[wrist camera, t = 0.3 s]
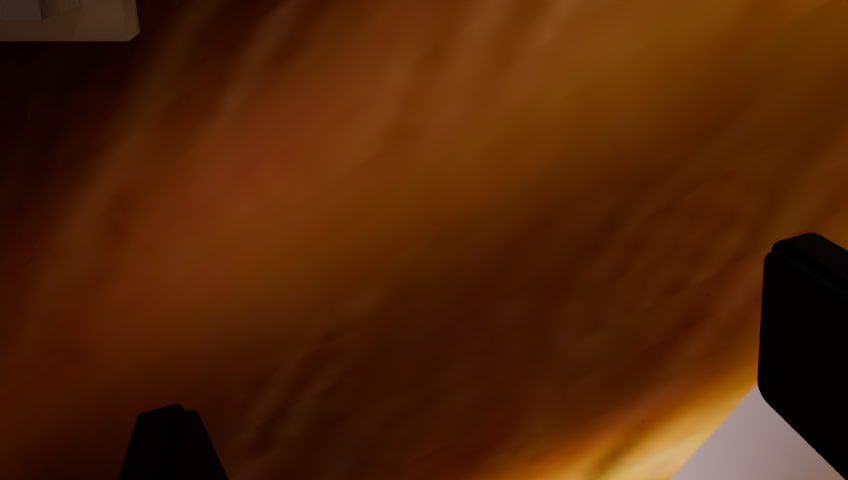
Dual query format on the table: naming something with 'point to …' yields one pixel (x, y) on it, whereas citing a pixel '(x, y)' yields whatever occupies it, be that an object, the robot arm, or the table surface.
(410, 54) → the table surface
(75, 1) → the hollow square tube
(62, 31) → the peg stand
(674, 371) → the table surface
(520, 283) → the table surface
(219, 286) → the table surface
